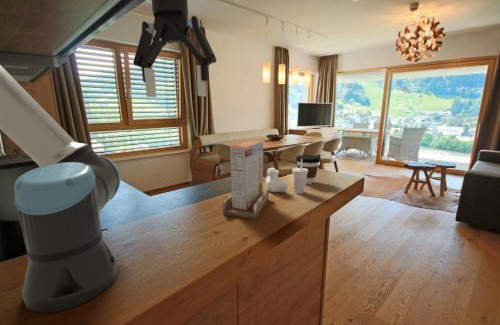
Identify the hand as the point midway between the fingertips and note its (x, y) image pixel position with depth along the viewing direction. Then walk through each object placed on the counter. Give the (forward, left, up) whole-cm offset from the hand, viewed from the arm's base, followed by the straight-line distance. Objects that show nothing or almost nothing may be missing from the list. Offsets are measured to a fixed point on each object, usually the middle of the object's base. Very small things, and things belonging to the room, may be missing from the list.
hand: (176, 96), depth 60 cm
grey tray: (+10, +25, -37) cm, 46 cm away
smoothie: (+26, +45, -37) cm, 64 cm away
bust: (+16, +44, -37) cm, 60 cm away
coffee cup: (+28, +60, -37) cm, 76 cm away
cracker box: (+10, +25, -35) cm, 44 cm away
